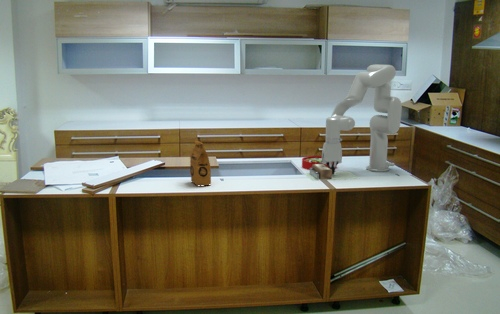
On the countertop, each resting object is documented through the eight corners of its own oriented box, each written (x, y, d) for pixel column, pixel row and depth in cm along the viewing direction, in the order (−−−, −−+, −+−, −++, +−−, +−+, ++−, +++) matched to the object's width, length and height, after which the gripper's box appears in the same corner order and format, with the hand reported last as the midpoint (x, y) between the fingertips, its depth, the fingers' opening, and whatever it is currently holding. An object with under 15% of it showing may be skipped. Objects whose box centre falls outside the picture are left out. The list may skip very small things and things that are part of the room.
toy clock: (300, 156, 278) (333, 155, 279) (299, 165, 279) (332, 165, 280) (304, 163, 259) (340, 163, 259) (304, 173, 260) (339, 173, 260)
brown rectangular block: (322, 172, 256) (322, 163, 254) (331, 179, 242) (332, 169, 241) (312, 173, 254) (312, 164, 253) (320, 179, 241) (321, 170, 240)
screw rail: (312, 173, 254) (312, 167, 253) (320, 179, 242) (320, 172, 241) (308, 173, 254) (308, 167, 253) (315, 179, 241) (315, 173, 240)
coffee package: (194, 187, 231) (192, 144, 227) (189, 181, 243) (187, 140, 238) (213, 186, 234) (212, 143, 230) (207, 180, 246) (206, 139, 241)
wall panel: (348, 173, 259) (348, 171, 259) (359, 180, 244) (359, 178, 244) (303, 175, 255) (303, 173, 255) (312, 182, 240) (312, 180, 239)
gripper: (343, 138, 250) (342, 171, 254) (316, 139, 247) (316, 173, 251) (348, 141, 243) (347, 175, 247) (321, 142, 240) (320, 176, 244)
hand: (331, 173), depth 249 cm, fingers closed
